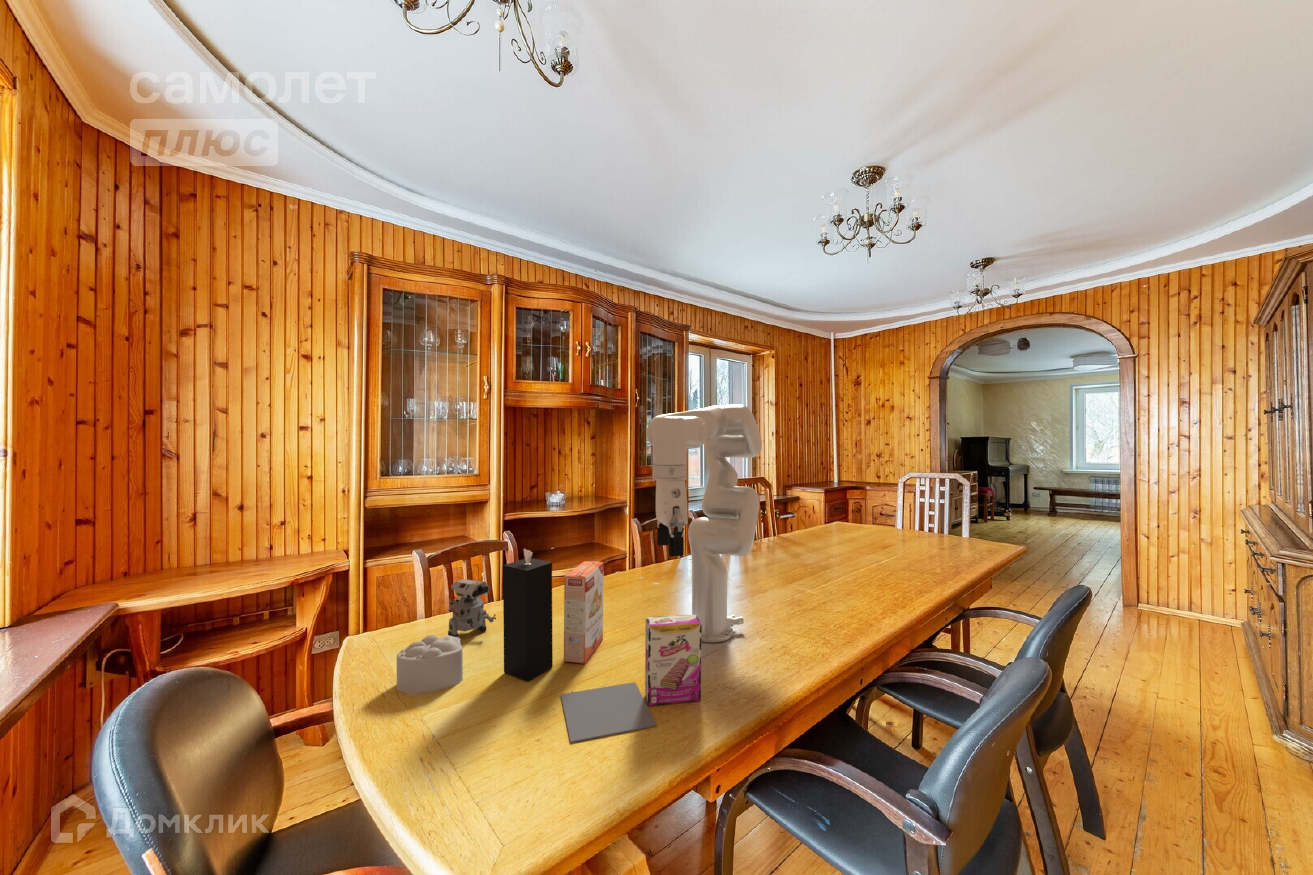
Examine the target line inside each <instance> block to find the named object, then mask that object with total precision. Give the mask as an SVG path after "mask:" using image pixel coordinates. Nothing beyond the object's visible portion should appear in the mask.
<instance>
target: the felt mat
mask: <svg viewBox="0 0 1313 875" xmlns="http://www.w3.org/2000/svg"><path fill="white" fill-rule="evenodd" d="M560 697H561V703H562V709H563V713H564V716H565V717H564V718H565V723H566V727H567V732H568V737H569V742H570V744H574V743H579V742H584V741H588V740H594V739H599V738H604V737H608V736H615V735H619V734H624V733H629V732H635V731H640V730H646V729H650V728H654V727H658V724H657V722H656V720H655V718H654V716H653V714H652V713H651V710H650V709H649V706H648V703H646V702H647V701H645V699H644V697H643V694H642V693H641V691H640V688H639V686H638V685H637V683H636V681H633V682H627V683H621V684H615V685H609V686H602V687H598V688H597V687H596V688H589V689H585V690H579V691H573V692H566V693H562V694H561V693H560Z"/></svg>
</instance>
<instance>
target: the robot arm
mask: <svg viewBox="0 0 1313 875" xmlns="http://www.w3.org/2000/svg"><path fill="white" fill-rule="evenodd" d="M646 438H647V440H648V442H649V444H650V445H651V446H652V480H653V481H655V482H656V483H655V484H656V485H655V517H656V520H657V522H656V543H657V546H668V556H669V557H683V556H684V555H685V541H684V540H685V533H684V531H685V527H686V526H687V525H688V517H689V516H688V515H689V514H688V500H687V499H688V498H687V486H686V480H687V479H688V478H687V477H688V476H687V475H688V474H687V473H688V472H687V470H688V469H687V466H688V464H687V462H688V461H687V459H688V458H687V450H688V449H692V450H693V449H698V448H701V447H702V446H704V453H705V458H706V462H707V465H708V471H709V473H708V478H707V482H706V486H705V490H704V494H703V497H702V503H701V507H702V513H703V514H704V515H705V516H701V517H696V518H694V519H693V520H692V521H691V523H690V524H689V526H688V529H687V530H688V532H687V536H688V543H689V547H690V555H691V615H697V617H698V619H699V620H700V621H701V623H702V637H701V643H721V642H725V641H727V640H730V639H731V638H732V637H733V636H734V635H733V634H734V628H732V627H734V626H736V625H737V626H738V625H744V622H745V621H744V618H743V616H737V617H736V615H735V614H730V615H728V570H727V565H726V563H725V561H724V560H723V558H722V556H721V555H723V556H724V555H725V556H735V557H745V556H747V555H749V554H750V553H751V552H752V548H753V546H754V541H755V535H756V529H757V525H758V524H757V523H758V517H759V512H760V499H759V498H760V497H759V494H758V492H757V491H756V490H755V488H753V487H750V486H743V485H738V482H739V481H738V480H739V476H738V472H737V470H736V469H735V467H734V466H733V464H732V463H731V462H730V461H729V460H727V458H741V459H742V458H749V459H750V458H752V459H753V458H756V457H758V456H759V455H760V453H761V451H762V445H763V443H762V442H763V441H762V436H761V433H760V430H759V427H758V424H757V422H756V418H755V416H754V413H753V412H752V410H751V409H750V408H749V407H748V406H746V405H745V404H726V405H725V404H724V405H721V404H718V405H711V406H707V407H703V408H699V409H698V408H697V409H692V410H691V409H690V410H686V411H685V410H684V411H681V412H679V411H678V412H673V413H665V414H660V415H656V416H655V417H652V418H651V419H650V421H649V423H648V424H647V428H646Z"/></svg>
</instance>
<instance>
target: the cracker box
mask: <svg viewBox="0 0 1313 875" xmlns="http://www.w3.org/2000/svg"><path fill="white" fill-rule="evenodd" d="M604 564H605V563H604V562H602V561H587V560H585V561H583V562H581V563H580V564H579V565H577V566H576V567H574V568H573V569H572V570H570V572H568V573H567V574H565V575H564V579H563V580H564V585H563V586H564V591H563V593H564V595H563V603H564V604H563V662H565V663H573V664H574V663H575V664H581V665H582V664H583V665H585V664H586V663H587V662H588V660H589V659H590V658H591V656H592V655H593V653H595V651H596V650H597V648H598V647H599V645H600V644H601V643H602V642H603V639H604V581H605V580H604V575H605V574H604V569H605V568H604V566H605V565H604Z"/></svg>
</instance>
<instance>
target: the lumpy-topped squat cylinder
mask: <svg viewBox="0 0 1313 875" xmlns="http://www.w3.org/2000/svg"><path fill="white" fill-rule="evenodd" d="M458 637H459V636H458ZM458 637H453V636H449V635H445V636H442V637H438V636H437V635H436V634H429V635H427V636H425V637H424V638H422V639H421V640H419V641H418V640H417V641H413V642H412V643H410V644H409V645H408V646H406V647H405V648H403V649H402V650H400V651H399V652H397V654H396V690H397V691H398V692H400V693H404V694H410V695H422V694H427V693H432V692H437V691H441V690H445V689H449V688H451V687H454V686H457V685H459V684H460V683H461V682H462V681H463V678H464V677H463V676H464V675H463V674H464V672H463V671H464V670H463V669H464V668H463V667H464V666H463V662H464V661H463V660H464V659H463V646H462V645H461V638H460V637H459V638H458Z"/></svg>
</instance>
